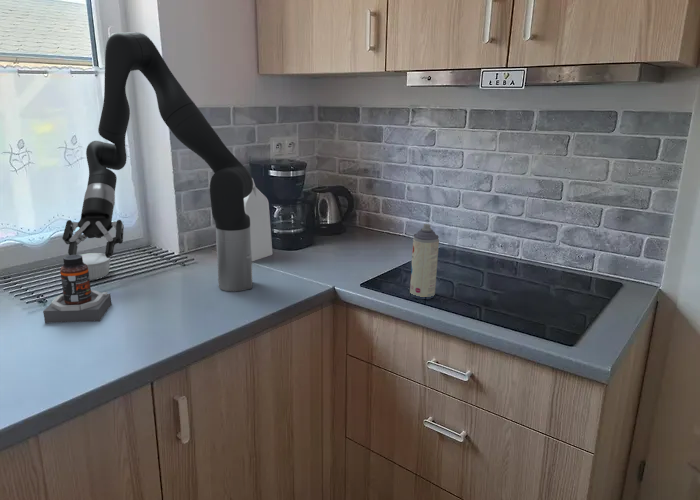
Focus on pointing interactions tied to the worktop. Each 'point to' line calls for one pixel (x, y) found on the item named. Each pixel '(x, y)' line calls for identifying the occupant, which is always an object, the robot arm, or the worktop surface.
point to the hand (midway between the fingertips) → (90, 256)
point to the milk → (258, 223)
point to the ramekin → (96, 264)
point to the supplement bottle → (75, 280)
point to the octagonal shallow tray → (78, 309)
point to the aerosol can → (424, 262)
